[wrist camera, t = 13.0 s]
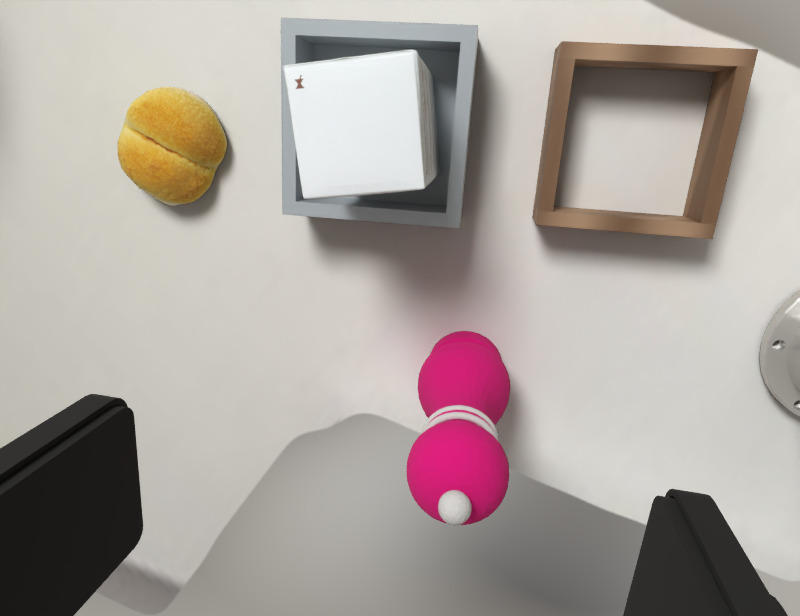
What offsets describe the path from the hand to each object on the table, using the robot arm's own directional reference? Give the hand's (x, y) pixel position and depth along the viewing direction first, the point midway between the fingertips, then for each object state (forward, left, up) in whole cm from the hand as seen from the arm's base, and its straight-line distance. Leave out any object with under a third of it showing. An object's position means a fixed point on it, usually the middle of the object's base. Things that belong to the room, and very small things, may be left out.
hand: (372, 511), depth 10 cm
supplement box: (+6, -6, -35) cm, 36 cm away
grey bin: (+6, -7, -36) cm, 37 cm away
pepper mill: (-2, +12, -36) cm, 38 cm away
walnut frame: (-12, -7, -36) cm, 38 cm away
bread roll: (+23, -4, -36) cm, 43 cm away
